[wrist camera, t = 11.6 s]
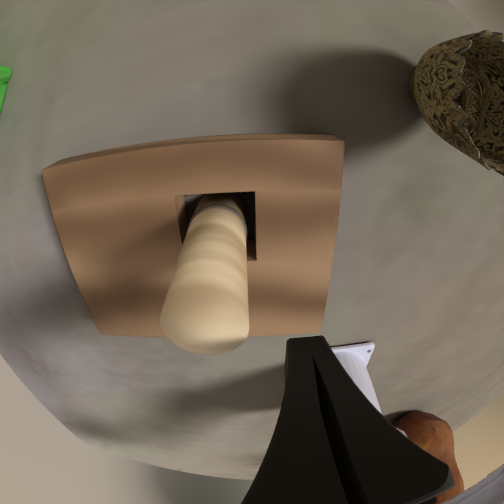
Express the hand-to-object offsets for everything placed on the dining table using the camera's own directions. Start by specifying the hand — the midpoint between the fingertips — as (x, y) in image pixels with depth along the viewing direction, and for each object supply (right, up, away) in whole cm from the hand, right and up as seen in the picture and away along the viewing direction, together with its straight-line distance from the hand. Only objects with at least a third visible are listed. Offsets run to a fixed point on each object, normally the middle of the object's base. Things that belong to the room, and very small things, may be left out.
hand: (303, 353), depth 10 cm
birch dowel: (-4, +6, +8) cm, 11 cm away
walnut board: (-6, +5, +9) cm, 12 cm away
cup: (+10, +15, +4) cm, 18 cm away
